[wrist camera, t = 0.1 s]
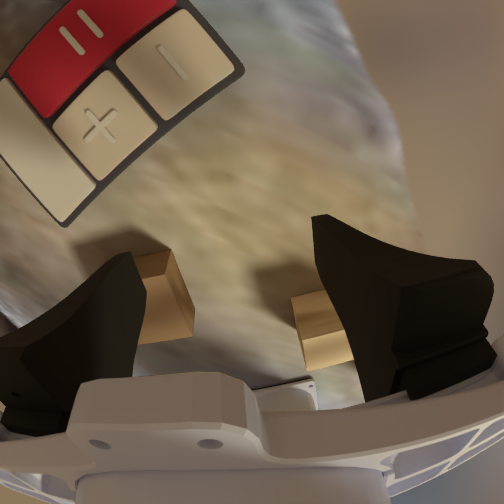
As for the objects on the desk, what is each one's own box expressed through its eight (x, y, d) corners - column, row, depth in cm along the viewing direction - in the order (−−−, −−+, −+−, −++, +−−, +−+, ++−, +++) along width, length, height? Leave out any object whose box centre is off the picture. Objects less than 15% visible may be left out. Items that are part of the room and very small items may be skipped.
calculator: (251, 71, 15) (59, 236, 18) (242, 74, 18) (81, 210, 21) (133, -59, 10) (-36, 122, 13) (146, -36, 13) (-2, 112, 16)
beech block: (338, 319, 29) (354, 359, 24) (296, 329, 29) (307, 371, 25) (336, 286, 27) (354, 327, 22) (290, 297, 27) (302, 340, 22)
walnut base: (195, 307, 27) (192, 336, 24) (133, 318, 27) (124, 346, 24) (171, 247, 24) (164, 274, 21) (104, 263, 24) (90, 290, 21)
